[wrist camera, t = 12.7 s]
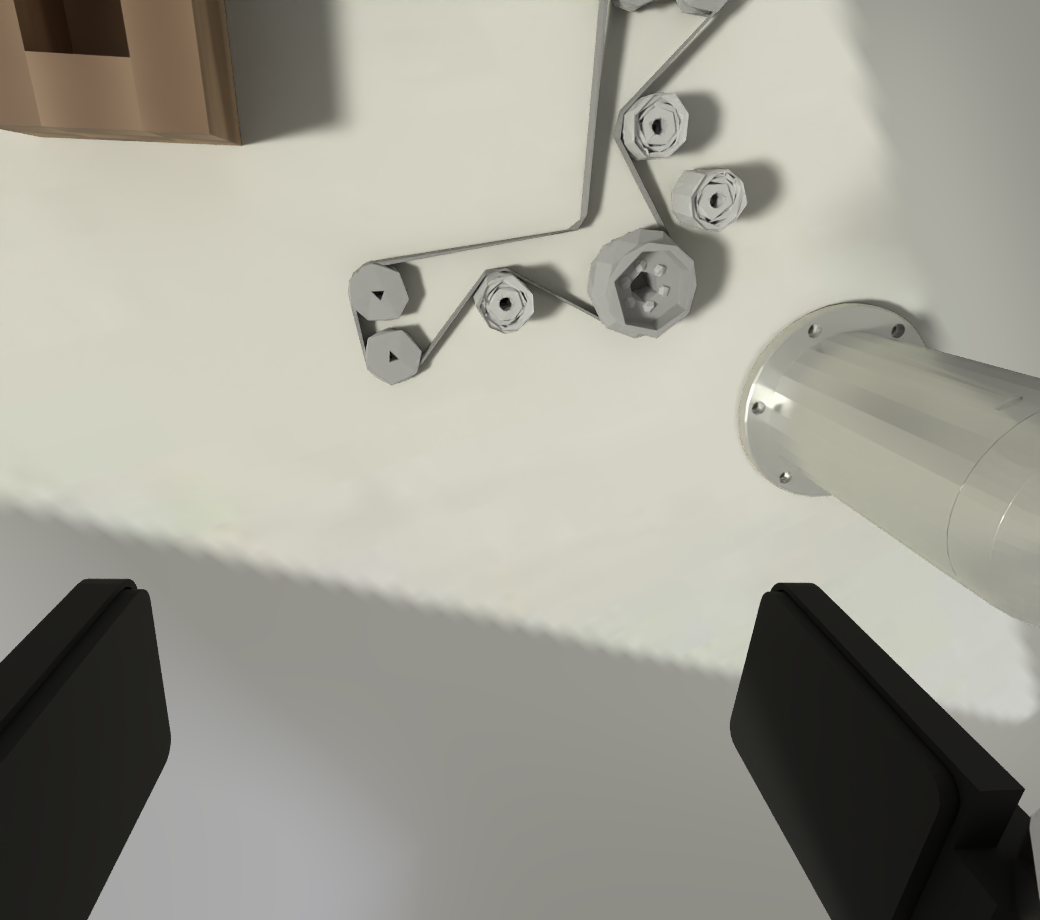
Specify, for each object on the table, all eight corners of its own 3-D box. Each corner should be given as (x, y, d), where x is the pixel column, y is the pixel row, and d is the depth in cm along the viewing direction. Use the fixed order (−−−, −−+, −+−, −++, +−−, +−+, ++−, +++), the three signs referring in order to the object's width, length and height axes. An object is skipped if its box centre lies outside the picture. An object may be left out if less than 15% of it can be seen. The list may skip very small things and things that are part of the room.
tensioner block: (214, -83, 27) (171, -142, 23) (241, 145, 31) (209, 133, 26) (-14, -104, 26) (-107, -171, 22) (40, 136, 29) (-31, 123, 25)
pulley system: (831, 122, 35) (661, -125, 29) (889, 117, 31) (704, -173, 25) (510, 467, 41) (315, 320, 35) (522, 501, 37) (302, 341, 31)
